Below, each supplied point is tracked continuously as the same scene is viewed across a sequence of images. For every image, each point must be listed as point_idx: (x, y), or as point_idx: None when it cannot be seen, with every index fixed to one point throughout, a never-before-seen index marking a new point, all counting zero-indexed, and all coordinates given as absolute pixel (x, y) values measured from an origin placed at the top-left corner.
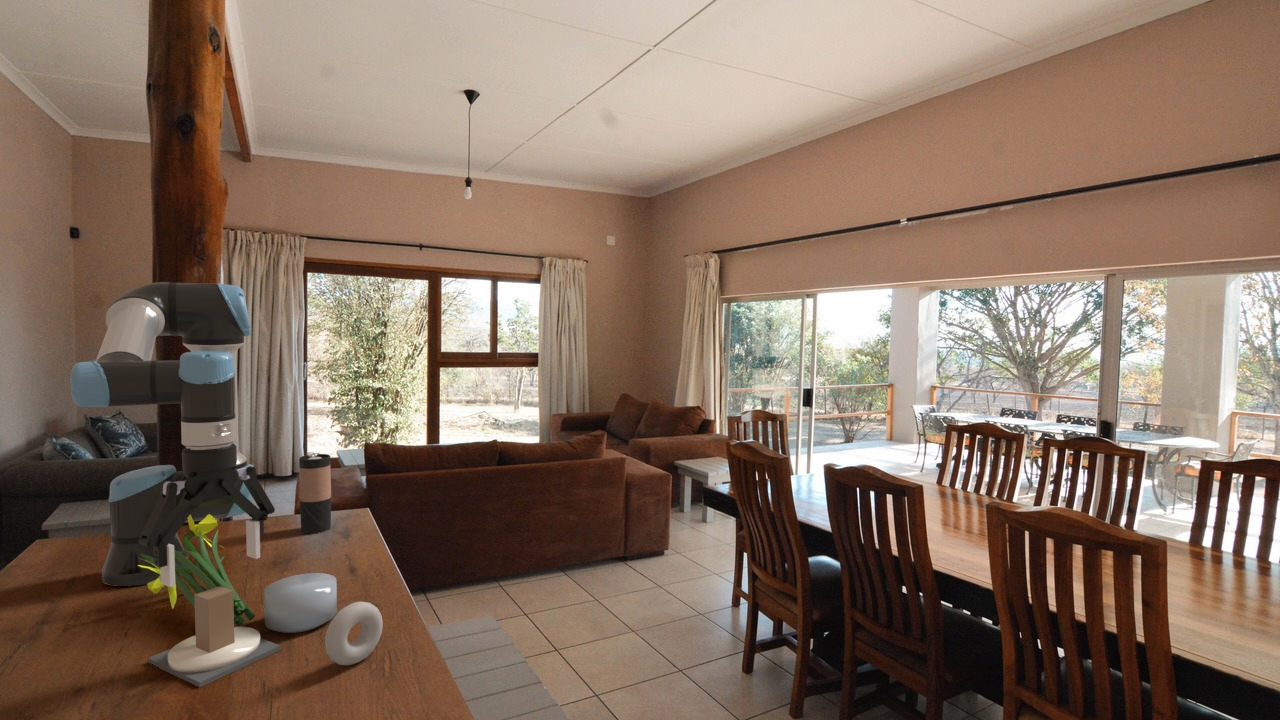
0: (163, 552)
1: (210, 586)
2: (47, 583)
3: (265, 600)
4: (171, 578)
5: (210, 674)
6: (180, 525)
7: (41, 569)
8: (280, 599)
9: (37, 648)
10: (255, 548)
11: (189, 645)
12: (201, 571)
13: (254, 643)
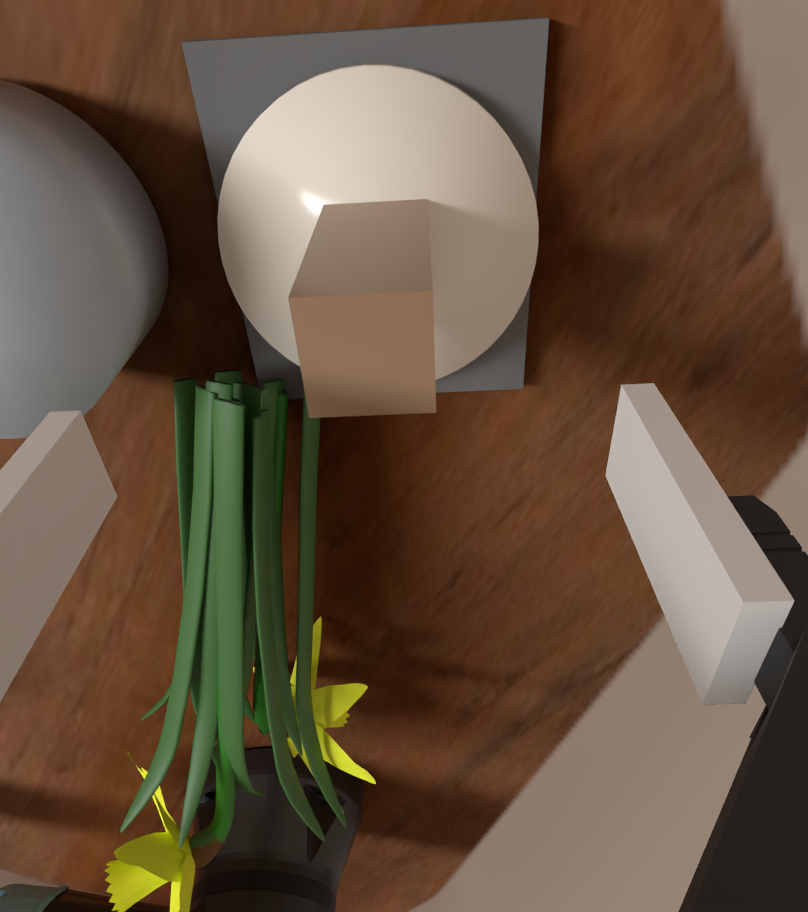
0: (784, 583)
1: (266, 559)
2: (424, 840)
3: (128, 326)
4: (664, 413)
5: (487, 54)
6: (756, 808)
7: (403, 881)
8: (71, 220)
9: (595, 641)
10: (46, 460)
11: (434, 329)
12: (260, 648)
13: (272, 112)
